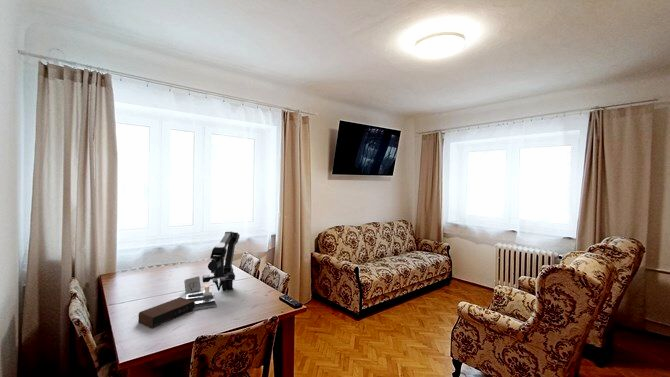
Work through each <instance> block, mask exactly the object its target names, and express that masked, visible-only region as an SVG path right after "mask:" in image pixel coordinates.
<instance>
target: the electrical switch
mask: <svg viewBox="0 0 670 377" xmlns="http://www.w3.org/2000/svg"><path fill="white" fill-rule="evenodd" d="M200 278H201V277H200V276H198V275H197V276H194V277H190V278H187V279H185V280H184V289H185V294H189V293H196V292H200V291H201V290H202V287H201V279H200Z"/></svg>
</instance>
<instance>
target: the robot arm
mask: <svg viewBox="0 0 670 377" xmlns="http://www.w3.org/2000/svg"><path fill="white" fill-rule="evenodd" d="M239 240H240V234H239V233H238V232H234V231H231V230H229V231H227V230H226V231H225V232H224V235H223V237H222V238H221V240H220V242H219V243H217V244H216V245H214V247H213V248H212V250H211V253H210V257H209V258H210V259H211V261H210V262H209V263H208V265H207V269H208V270H209V271H210V274H213V275H212V276H210V274H206V275H202V283H209V282H210V281H212V283H214V284H215V286H216V288H217V289H216V290H217V291H218V292H219V291H220V290H222V291H231V290H234V287H233V283H234V282H233V281H235V280H236V274H235V272H234V268H233V260H234V254H235V248H236V247H235V246H236V245H237V244H238V243H239Z"/></svg>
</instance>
